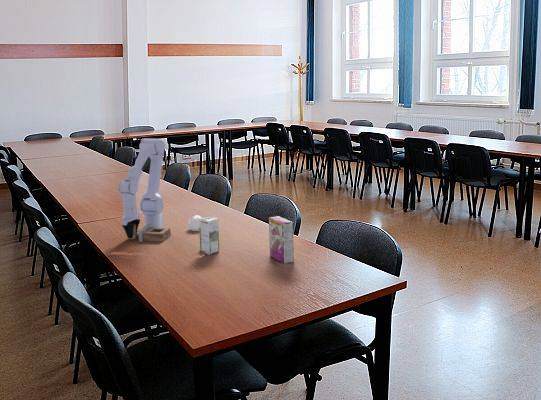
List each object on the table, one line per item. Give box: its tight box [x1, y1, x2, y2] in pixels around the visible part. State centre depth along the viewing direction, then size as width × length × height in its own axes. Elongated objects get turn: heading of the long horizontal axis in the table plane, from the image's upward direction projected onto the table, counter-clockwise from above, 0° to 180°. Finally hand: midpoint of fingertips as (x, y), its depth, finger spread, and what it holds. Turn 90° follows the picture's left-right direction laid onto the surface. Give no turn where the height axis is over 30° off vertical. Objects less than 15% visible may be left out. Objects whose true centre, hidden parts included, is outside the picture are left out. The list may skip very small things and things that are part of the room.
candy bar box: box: [268, 215, 295, 265], centre depth 218 cm, size 11×5×16 cm, turn 30°
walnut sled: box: [143, 227, 172, 243], centre depth 249 cm, size 10×9×4 cm
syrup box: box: [199, 216, 220, 256], centre depth 229 cm, size 6×6×14 cm
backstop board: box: [137, 224, 151, 243], centre depth 248 cm, size 11×20×6 cm, turn 80°
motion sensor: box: [187, 214, 204, 232], centre depth 261 cm, size 8×8×8 cm
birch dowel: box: [127, 225, 137, 240], centre depth 250 cm, size 4×4×7 cm
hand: (132, 236), depth 250 cm, fingers closed on birch dowel, 4 cm apart
